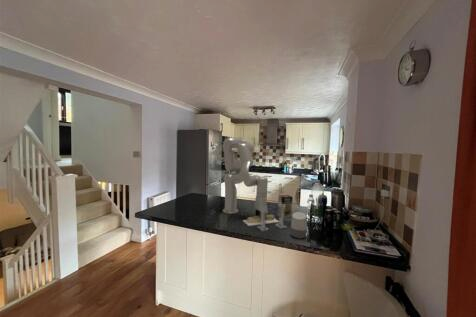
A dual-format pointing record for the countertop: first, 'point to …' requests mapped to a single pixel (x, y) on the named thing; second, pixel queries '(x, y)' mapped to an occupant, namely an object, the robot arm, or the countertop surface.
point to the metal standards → (263, 214)
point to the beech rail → (259, 218)
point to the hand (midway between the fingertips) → (260, 217)
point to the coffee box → (288, 208)
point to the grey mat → (260, 222)
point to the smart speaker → (299, 225)
